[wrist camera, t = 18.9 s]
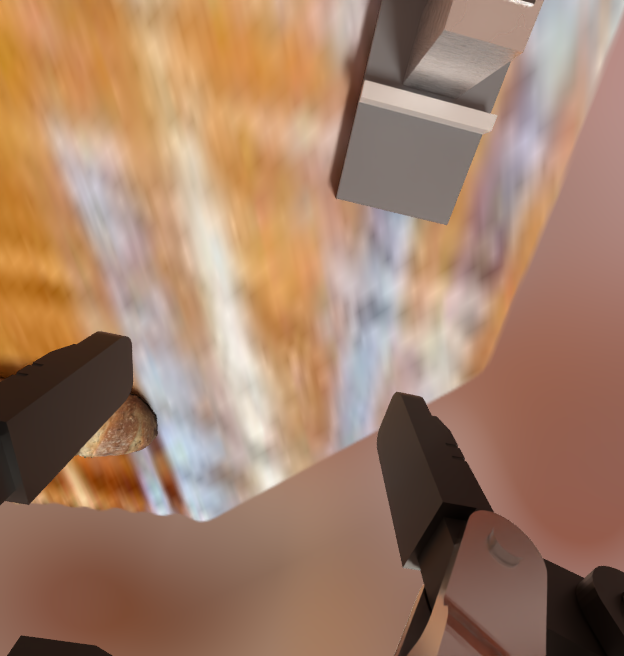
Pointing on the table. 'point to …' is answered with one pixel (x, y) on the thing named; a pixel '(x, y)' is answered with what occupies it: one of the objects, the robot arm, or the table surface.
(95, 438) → the bread loaf
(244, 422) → the table surface
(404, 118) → the plate
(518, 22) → the block
